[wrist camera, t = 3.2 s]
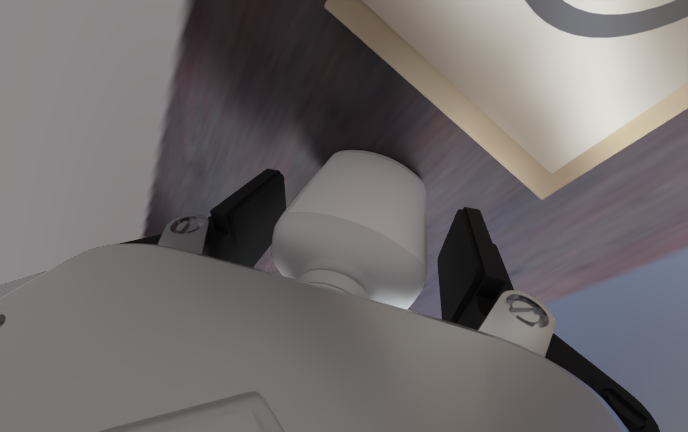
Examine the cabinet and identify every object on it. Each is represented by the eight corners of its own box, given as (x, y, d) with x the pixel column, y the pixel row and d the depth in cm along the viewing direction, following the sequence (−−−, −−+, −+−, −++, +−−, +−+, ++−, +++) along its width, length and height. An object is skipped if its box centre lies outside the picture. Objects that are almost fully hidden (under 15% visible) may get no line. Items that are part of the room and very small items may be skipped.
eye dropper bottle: (370, 117, 13) (207, 324, 3) (435, 193, 14) (469, 509, 4) (318, 168, 15) (131, 375, 5) (378, 229, 16) (316, 483, 7)
